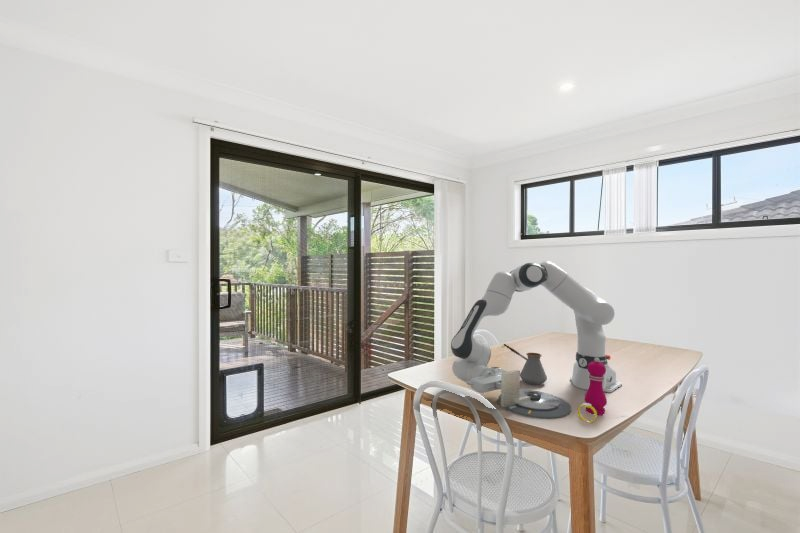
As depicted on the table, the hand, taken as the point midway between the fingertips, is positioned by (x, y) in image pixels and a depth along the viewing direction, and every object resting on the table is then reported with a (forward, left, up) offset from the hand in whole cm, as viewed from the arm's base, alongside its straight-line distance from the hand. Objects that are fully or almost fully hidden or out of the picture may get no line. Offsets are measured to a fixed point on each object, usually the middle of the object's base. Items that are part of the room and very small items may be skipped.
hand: (510, 388), depth 140 cm
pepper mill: (-26, +17, -8) cm, 32 cm away
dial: (-8, +1, -7) cm, 10 cm away
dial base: (-12, +1, -8) cm, 14 cm away
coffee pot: (-32, -21, -8) cm, 39 cm away
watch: (-16, +20, -8) cm, 27 cm away
